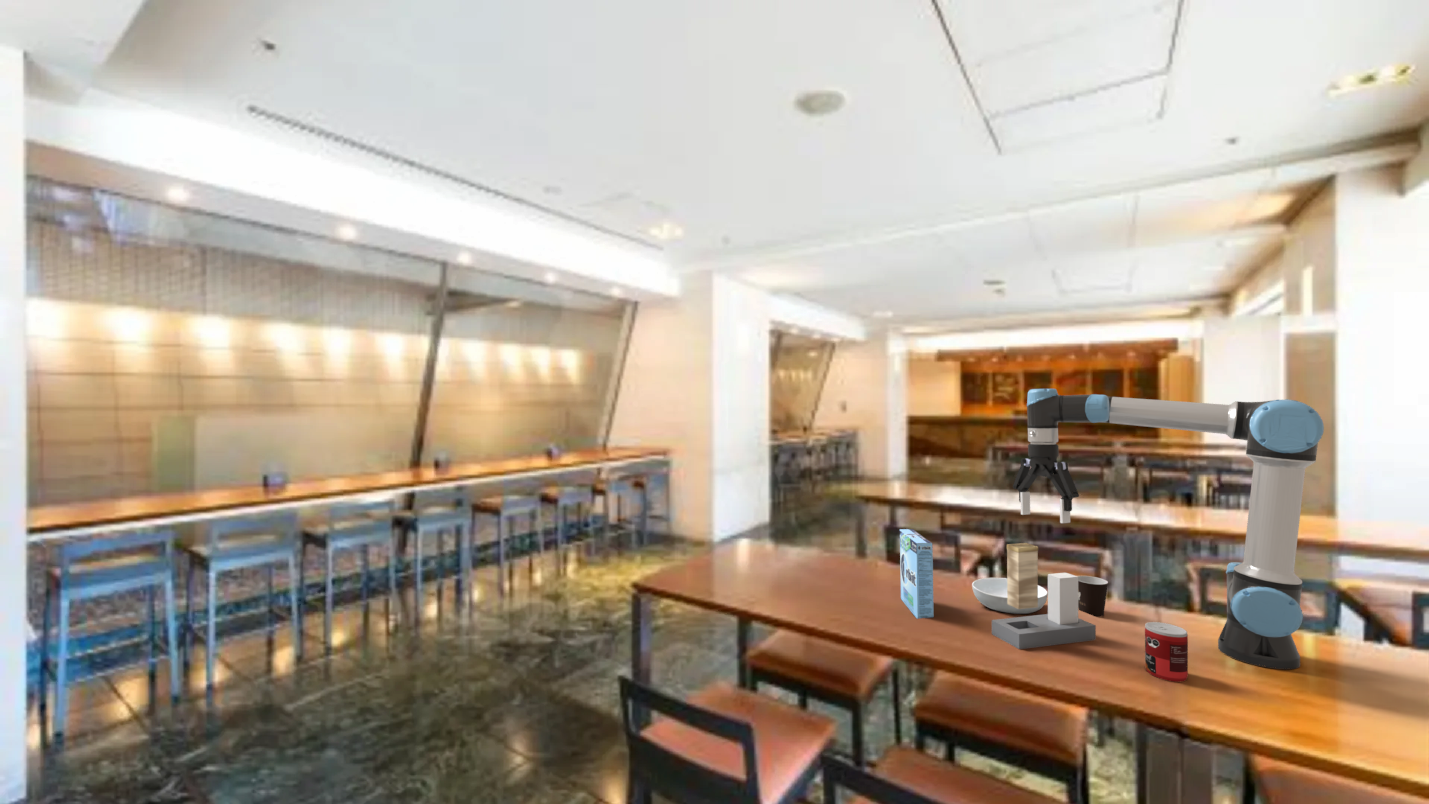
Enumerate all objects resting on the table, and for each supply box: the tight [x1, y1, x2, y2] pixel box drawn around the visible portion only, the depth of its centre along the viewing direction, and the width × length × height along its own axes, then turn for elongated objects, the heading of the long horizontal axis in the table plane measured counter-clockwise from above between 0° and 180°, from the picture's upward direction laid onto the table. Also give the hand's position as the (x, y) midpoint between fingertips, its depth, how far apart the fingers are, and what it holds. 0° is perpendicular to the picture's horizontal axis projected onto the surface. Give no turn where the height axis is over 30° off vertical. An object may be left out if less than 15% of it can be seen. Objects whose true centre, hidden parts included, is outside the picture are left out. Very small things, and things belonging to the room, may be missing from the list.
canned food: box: [1144, 621, 1189, 683], centre depth 137 cm, size 8×8×11 cm
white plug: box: [1047, 572, 1079, 625], centre depth 158 cm, size 4×6×16 cm, turn 104°
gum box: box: [899, 528, 935, 620], centre depth 181 cm, size 20×5×23 cm, turn 177°
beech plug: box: [1006, 542, 1039, 609], centre depth 155 cm, size 4×6×16 cm
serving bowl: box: [971, 577, 1048, 615], centre depth 181 cm, size 21×21×7 cm
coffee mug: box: [1076, 575, 1109, 618], centre depth 179 cm, size 12×9×10 cm
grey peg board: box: [991, 613, 1097, 650], centre depth 156 cm, size 10×24×5 cm, turn 104°
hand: (1044, 518), depth 164 cm, fingers open, 13 cm apart
